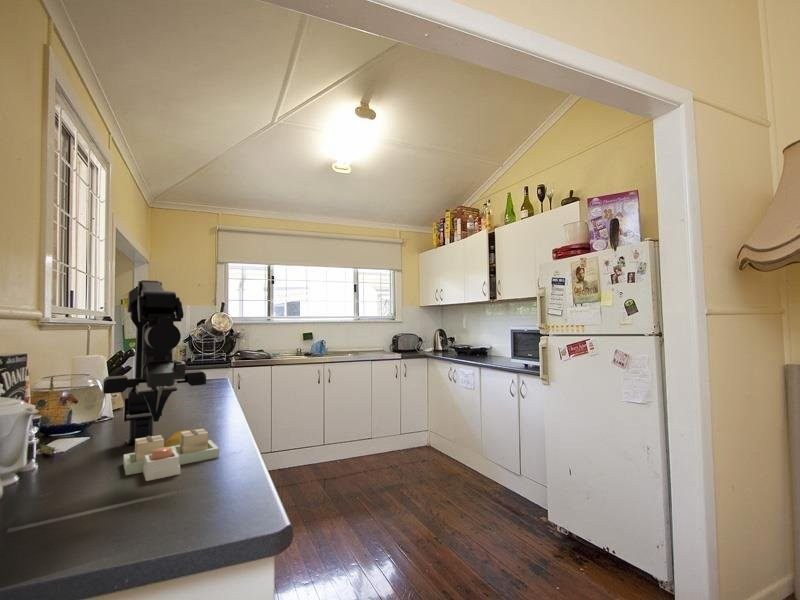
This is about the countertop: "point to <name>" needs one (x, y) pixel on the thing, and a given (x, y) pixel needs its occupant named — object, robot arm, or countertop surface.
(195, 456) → the pale green divided tray
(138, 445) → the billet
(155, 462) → the button housing
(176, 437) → the bread roll
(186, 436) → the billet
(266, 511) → the countertop surface
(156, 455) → the button
